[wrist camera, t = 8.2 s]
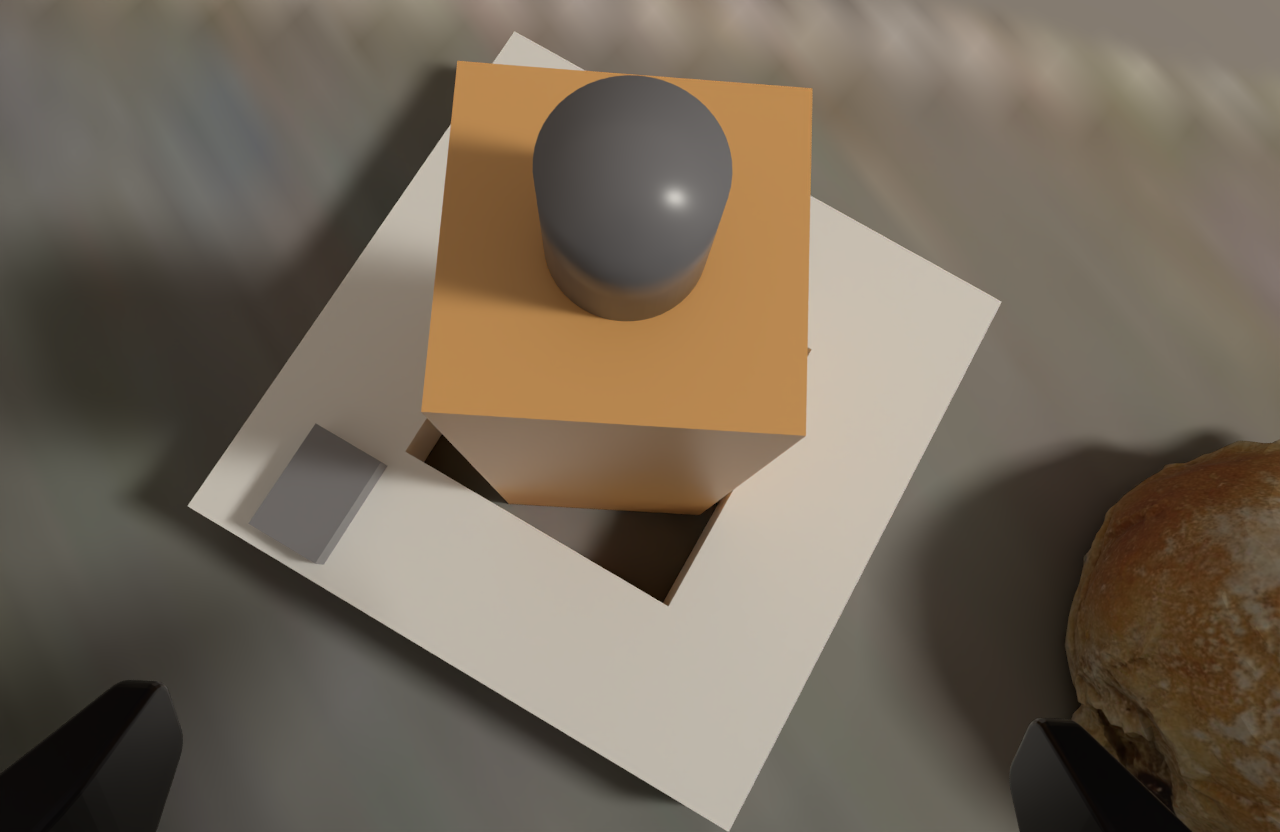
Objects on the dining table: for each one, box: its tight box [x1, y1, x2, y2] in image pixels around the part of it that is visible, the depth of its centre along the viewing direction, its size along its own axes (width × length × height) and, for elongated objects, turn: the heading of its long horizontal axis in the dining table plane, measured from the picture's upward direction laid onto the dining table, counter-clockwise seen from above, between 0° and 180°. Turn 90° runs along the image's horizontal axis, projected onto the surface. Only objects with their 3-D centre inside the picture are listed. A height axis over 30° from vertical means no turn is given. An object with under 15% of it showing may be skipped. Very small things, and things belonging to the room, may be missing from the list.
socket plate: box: [188, 32, 1001, 832], centre depth 20 cm, size 13×13×3 cm
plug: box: [421, 61, 812, 515], centre depth 15 cm, size 4×4×13 cm
